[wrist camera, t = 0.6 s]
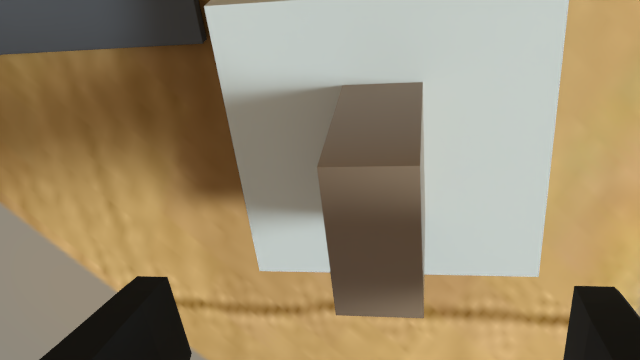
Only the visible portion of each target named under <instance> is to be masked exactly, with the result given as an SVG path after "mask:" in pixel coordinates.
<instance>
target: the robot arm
mask: <svg viewBox="0 0 640 360" xmlns="http://www.w3.org/2000/svg"><path fill="white" fill-rule="evenodd" d="M190 357H191V350H190V347H189V343H188V340H187V337H186V334H185V331H184V328H183V325H182V322H181V318H180V315H179V312H178V309H177V306H176V303H175V300H174V297H173V293H172V290H171V287H170V284H169V281H168V278H167V277H141V276H137V277H136V278H135V279H134V280H132V281H131V282H130V283H129V284H127V285H126V286H125V287H124V288H123V289H121V290H120V291H119V292H118V293H117V294H115V295H114V296H113V297H112V298H111V299H110V300H109V301H107V302H106V303H105V304H104V305H103V306H102V307H100V308H99V309H98V310H97V311H96V312H95V313H94V314H92V315H91V316H90V317H89V318H88V319H87V320H85V321H84V322H83V323H82V324H81V325H80V326H78V327H77V328H76V329H75V330H74V331H73V332H72V333H70V334H69V335H68V336H67V337H66V338H64V339H63V340H62V341H61V342H60V343H59V344H58V345H56V346H55V347H54V348H53V349H51V350H50V351H49V352H48V353H47V354H46V355H44V356H43V357H42V358H41V359H40V360H190ZM563 360H640V317H639V316H638V314H637V313H636V312H635V311H634V309H633V308H632V307H631V306H630V304H629V303H628V302H627V300H626V299H625V298H624V297H623V295H622V294H621V293H620V292H619V291H618V290H617V289H616V288H615V287H596V286H574V293H573V299H572V306H571V313H570V319H569V326H568V333H567V339H566V346H565V353H564V359H563Z"/></svg>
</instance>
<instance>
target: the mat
mask: <svg viewBox="0 0 640 360" xmlns="http://www.w3.org/2000/svg"><path fill="white" fill-rule="evenodd" d="M206 40H207V38H206V34H205V29H204V24H203V20H202V15H201V10H200V6H199V1H198V0H0V55H2V54H20V53H38V52H57V51H75V50H93V49H111V48H130V47H148V46H166V45H185V44H203V43H204V42H205V41H206Z"/></svg>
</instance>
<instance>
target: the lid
mask: <svg viewBox="0 0 640 360" xmlns="http://www.w3.org/2000/svg"><path fill="white" fill-rule="evenodd" d="M568 3H569V0H210V1H209V2H208V3H207V4H206V5H205V6H204V9H205V14H206V18H207V23H208V28H209V33H210V38H211V42H212V47H213V52H214V57H215V61H216V66H217V71H218V76H219V80H220V85H221V90H222V95H223V99H224V104H225V109H226V114H227V118H228V123H229V128H230V133H231V137H232V142H233V147H234V152H235V156H236V161H237V166H238V171H239V175H240V180H241V185H242V190H243V194H244V199H245V204H246V209H247V213H248V218H249V223H250V228H251V232H252V237H253V242H254V247H255V251H256V256H257V261H258V266H259V270H260V271H289V272H330V273H331V280H332V288H333V296H334V303H335V311H336V315H347V316H375V317H404V318H424V274H432V275H479V276H526V277H539V268H540V259H541V250H542V240H543V231H544V222H545V213H546V204H547V195H548V186H549V177H550V168H551V158H552V149H553V140H554V131H555V122H556V113H557V104H558V95H559V86H560V76H561V67H562V58H563V49H564V40H565V31H566V22H567V13H568Z"/></svg>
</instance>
